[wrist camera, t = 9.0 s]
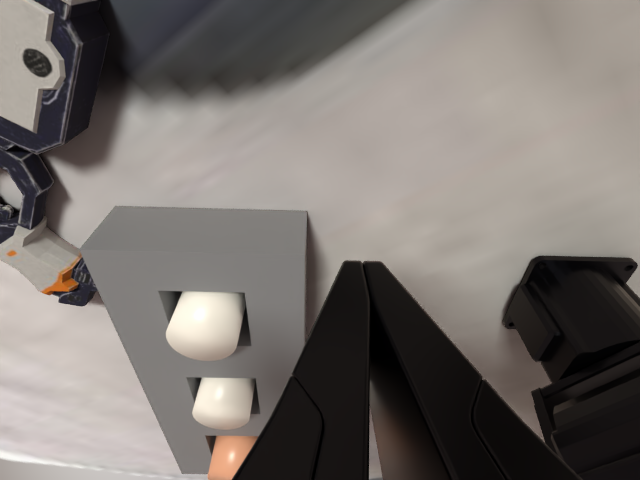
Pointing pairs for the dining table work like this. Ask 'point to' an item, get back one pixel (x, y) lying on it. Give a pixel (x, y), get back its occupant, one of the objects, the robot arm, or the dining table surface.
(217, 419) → the plug white mid
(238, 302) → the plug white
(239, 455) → the plug terracotta
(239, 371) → the socket board
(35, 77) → the toy gun
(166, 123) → the dining table surface
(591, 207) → the dining table surface
